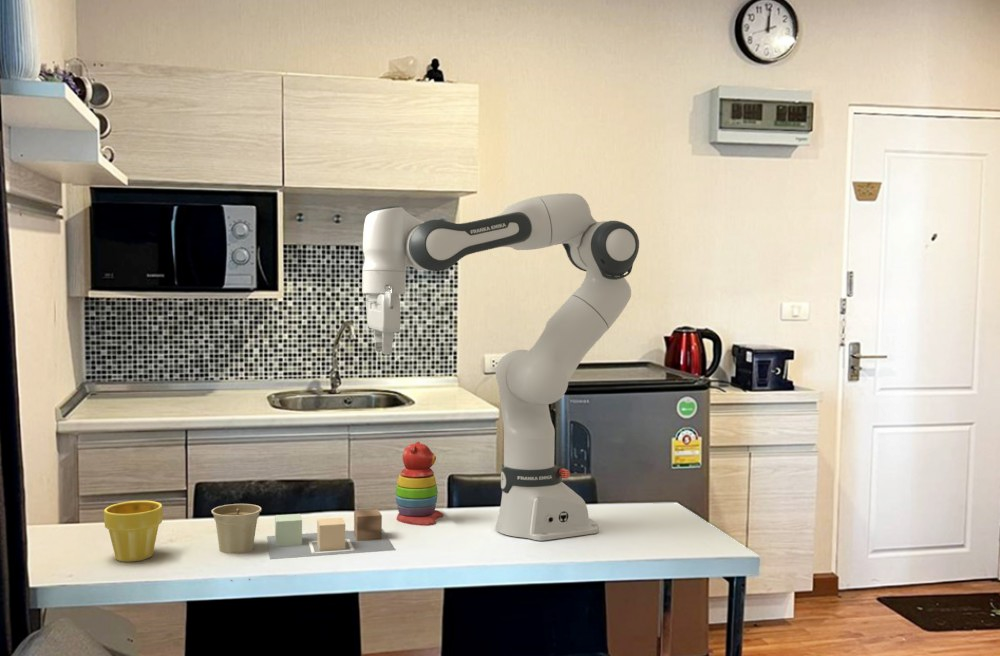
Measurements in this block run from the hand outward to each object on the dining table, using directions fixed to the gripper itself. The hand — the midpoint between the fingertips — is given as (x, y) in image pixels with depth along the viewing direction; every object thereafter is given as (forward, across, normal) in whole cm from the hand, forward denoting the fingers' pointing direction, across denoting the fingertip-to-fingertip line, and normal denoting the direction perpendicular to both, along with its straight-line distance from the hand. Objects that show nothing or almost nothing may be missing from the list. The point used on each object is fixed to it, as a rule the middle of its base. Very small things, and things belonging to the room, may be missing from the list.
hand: (383, 352), depth 183 cm
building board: (+39, -2, +11) cm, 41 cm away
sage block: (+38, 0, +19) cm, 43 cm away
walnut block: (+38, 0, +3) cm, 38 cm away
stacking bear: (+39, +12, -10) cm, 42 cm away
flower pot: (+39, -2, +29) cm, 49 cm away
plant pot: (+40, 0, +48) cm, 62 cm away
